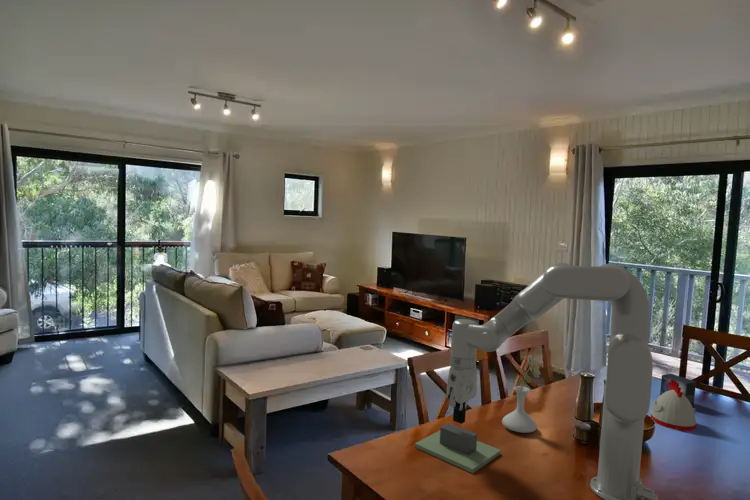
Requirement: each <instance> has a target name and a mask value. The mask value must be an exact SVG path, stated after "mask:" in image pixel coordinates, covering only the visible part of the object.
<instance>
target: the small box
mask: <svg viewBox="0 0 750 500" xmlns="http://www.w3.org/2000/svg"><path fill="white" fill-rule="evenodd" d="M660 379H661V381H660V392H659V396H660V395H662V394H663V393H665V392H666V391H669V382H671V380H674V382H677V383H679V387H680V388H681V391H680V392H683V395H684V396H686V398H687V399H688V400H689V402H690V403H691V405H692V407H693V408H695V394H696V387H697V381H696V380H695V381H694V380H692V379H689V378H686V377H683V376H680V375H677V374H673V373H665V374H662V375H661V378H660Z"/></svg>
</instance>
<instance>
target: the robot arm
mask: <svg viewBox="0 0 750 500" xmlns="http://www.w3.org/2000/svg"><path fill="white" fill-rule="evenodd" d="M564 299H567V300H584V301H598V302H599V301H600V302H602V301H603V302H610V303H611V315H610V316H611V320H610V321H611V322H610V323H611V324H610V325H611V327H610V336H609V343H608V346H607V364H606V366H607V367H606V381H605V383H604V384H605V385H604V388H603V401H602V402H603V406H602V418H601V419H602V420H601V429H600V440H599V441H600V442H599V443H600V444H599V455H598V464H597V466H598V467H597V475H596V476H593V477H592V478H591V480H590V485H589V486H590V488H591V490H592V492H593V493H594V494H596V495H597V497H600V498H601V499H603V500H658V498H659V497H658V495H657V494H655V490H653V489H651V488H649V487H645V485H643V479H642V478H640V472H641V461H642V460H641V459H642V449H643V440H644V430H645V418H646V417H647V415H648V413H649V412H650V405H651V395H652V383H653V382H652V381H653V370H654V369H653V367H654V365H653V364H654V363H653V362H654V361H653V356H652V352H651V350H650V345H649V333H650V332H649V331H650V304H649V297H648V294H647V292H646V290H645V288H644V286H643V284H642V282H641V281H640V280H639V278H637V277H636V275H634V274H633V273H632V272H631V271H629V270H627V269H626V268H624V267H622V266H620V265H618V264H615V263H605V264H602V265H599V266H596V265H595V266H591V265H590V266H587V265H572V264H569V263H566V262H557V263H554V264H553V265H551V266H550V267H548V269H546V271H544V272H542V274H540V275H539V276H538V277H537V278H536V279H535V280H533V281H532V282H531V283H530V284H529V285H527V286H526V287H525V288H524V289H522V290H521V291H520V292H519V293H517V294H516V295H515V296H514V298H513V299H512V301H511V302H510V303H509V304H507V305H506V306H505V307H504V308H503V309H501V310H500V311H499V312H498V313H497V314H495V315H494V316H493V317H492V318H491V319H489V320H488V321H487V322H486V323H484V324H481V325H480V324H479V323H477V322H476V321H475V320H473V319H468V318H460V319H459V318H458V319H455V320H454V321H453V323H452V328H451V340H450V341H451V342H450V343H451V344H450V357H449V358H450V360H449V366H450V367H449V371H448V375H447V376H448V377H447V383H446V384H447V385H446V399H447V400H449V402H448V406H449V407H452V409H453V414H452V415H453V416H452V421H453V422H456V423H458V424H461V425H462V424H463V423H465V422H466V411H467V410H466V409H467V408H468V404H469V403H468V402H469V401H470V400H472V399H474V398H475V397H476V396H477V391H478V390H477V388H478V387H477V386H478V376H477V375H478V373H477V363H476V362H477V351H478V350H480V351H484V352H489V353H491V352H495V351H497V350H498V349H500V347H501V346H502V345H503V343H505V342H506V341H507V340H508V339H509V338H511V337H512V336H513V335H514V334H515V333H517V332H518V331H519V330H520V329H522V328H523V327H525V326H526V325H528V324H529V323H531V322H533V321H537V320H538V319H539V318H541V317H542V316H543V315H545V313H547V312H548V311H549V310H551V309H552V308H553V307H555V306H556V305H557V304H558V303H560V302H561V301H562V300H564Z"/></svg>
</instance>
